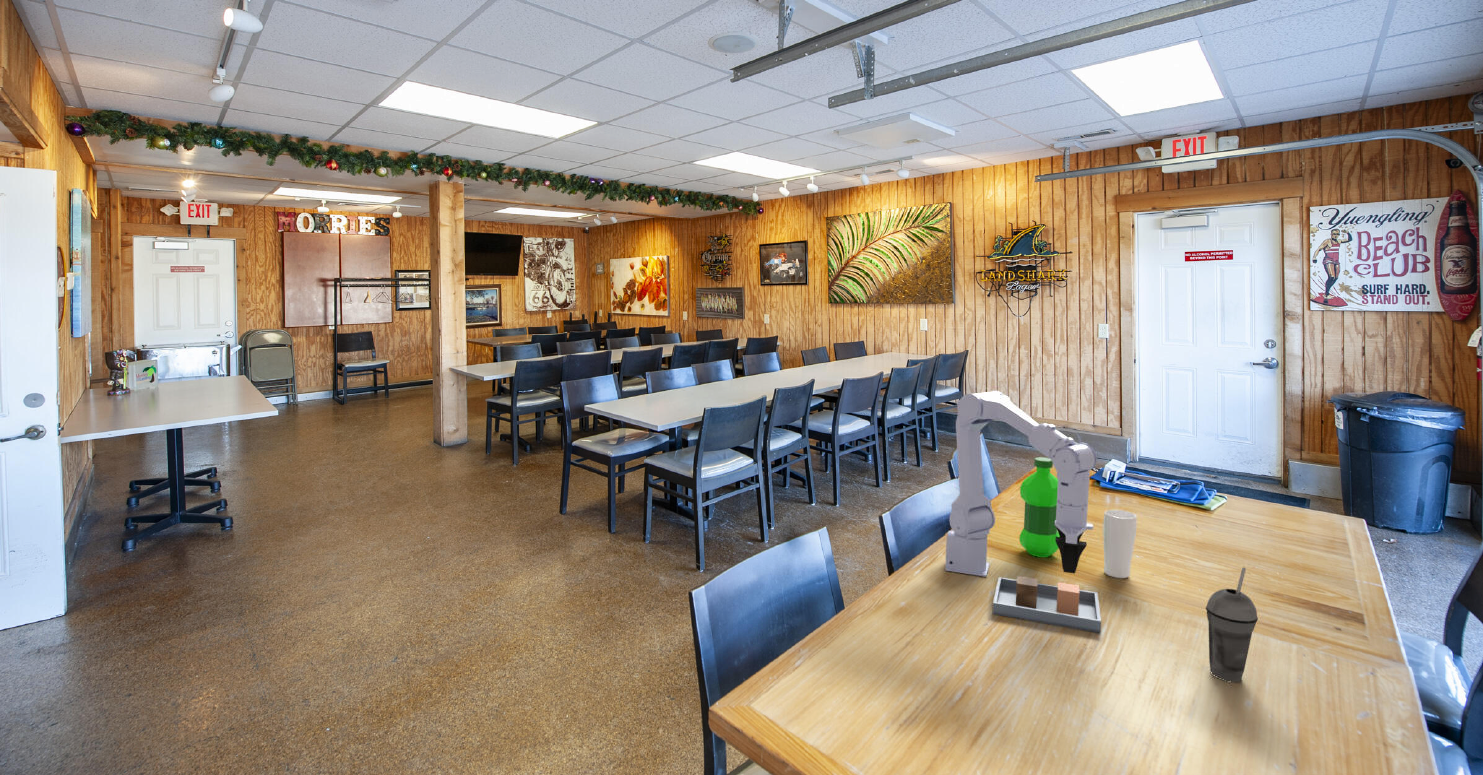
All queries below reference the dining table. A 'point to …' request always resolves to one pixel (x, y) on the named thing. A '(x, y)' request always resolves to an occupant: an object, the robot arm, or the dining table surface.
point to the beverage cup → (1230, 631)
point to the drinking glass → (1118, 542)
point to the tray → (1047, 607)
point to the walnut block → (1026, 592)
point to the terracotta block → (1068, 599)
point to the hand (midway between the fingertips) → (1068, 565)
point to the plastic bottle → (1040, 510)
